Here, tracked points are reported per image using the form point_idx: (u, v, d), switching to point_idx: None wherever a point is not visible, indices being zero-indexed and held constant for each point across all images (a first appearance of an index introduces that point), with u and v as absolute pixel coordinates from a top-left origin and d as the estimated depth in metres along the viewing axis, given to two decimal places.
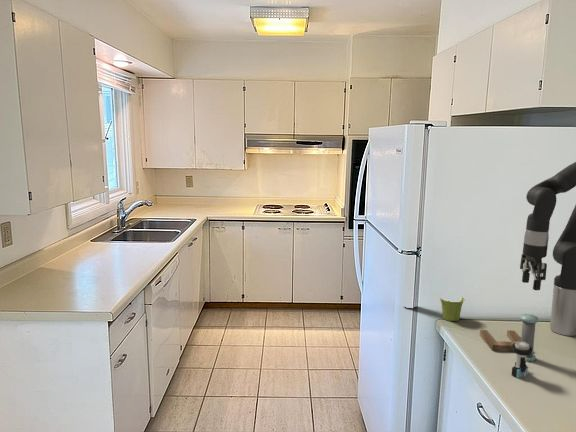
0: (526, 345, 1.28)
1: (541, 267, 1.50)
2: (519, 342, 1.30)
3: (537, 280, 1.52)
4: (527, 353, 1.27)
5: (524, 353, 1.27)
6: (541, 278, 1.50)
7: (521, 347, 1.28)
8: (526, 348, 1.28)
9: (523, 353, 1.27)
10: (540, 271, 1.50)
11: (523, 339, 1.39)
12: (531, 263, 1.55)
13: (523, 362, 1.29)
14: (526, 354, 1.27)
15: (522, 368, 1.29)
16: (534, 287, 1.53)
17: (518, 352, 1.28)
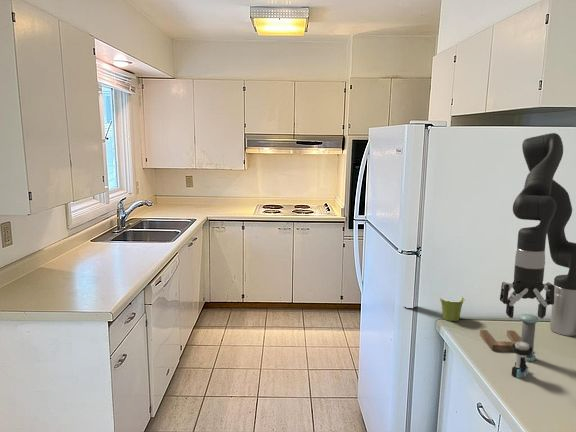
0: (526, 345, 1.28)
1: None
2: (519, 342, 1.30)
3: (546, 305, 1.26)
4: (527, 353, 1.27)
5: (524, 353, 1.27)
6: None
7: (521, 347, 1.28)
8: (526, 348, 1.28)
9: (523, 353, 1.27)
10: None
11: (523, 339, 1.39)
12: (537, 289, 1.25)
13: (523, 362, 1.29)
14: (526, 354, 1.27)
15: (522, 368, 1.29)
16: (543, 315, 1.27)
17: (518, 352, 1.28)
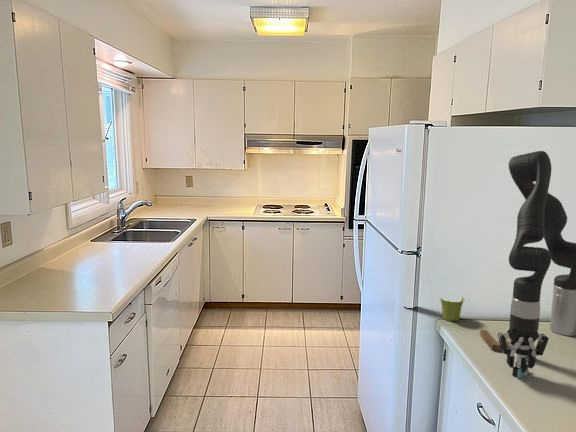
0: (527, 345, 1.28)
1: None
2: None
3: (535, 356, 1.29)
4: (528, 353, 1.27)
5: (525, 353, 1.27)
6: None
7: (522, 347, 1.28)
8: (527, 348, 1.28)
9: (524, 353, 1.27)
10: None
11: None
12: None
13: (524, 362, 1.29)
14: (527, 354, 1.27)
15: (523, 368, 1.29)
16: (532, 365, 1.29)
17: (519, 352, 1.28)
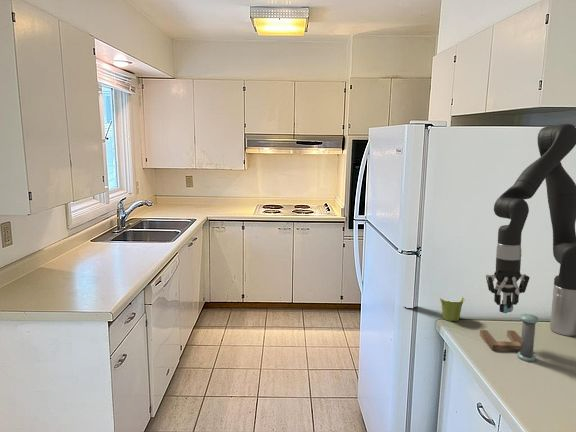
0: (511, 284, 1.48)
1: None
2: None
3: (519, 293, 1.49)
4: (512, 290, 1.47)
5: (509, 291, 1.47)
6: None
7: (507, 286, 1.47)
8: (511, 286, 1.47)
9: (509, 291, 1.47)
10: None
11: (523, 339, 1.39)
12: None
13: (509, 299, 1.48)
14: (511, 291, 1.47)
15: (508, 304, 1.48)
16: (516, 302, 1.49)
17: (504, 290, 1.47)
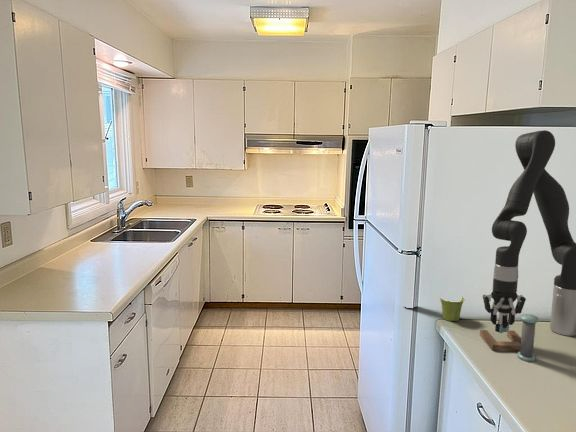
0: None
1: None
2: None
3: (515, 314, 1.51)
4: (508, 311, 1.49)
5: (505, 311, 1.49)
6: None
7: (503, 306, 1.49)
8: (507, 307, 1.49)
9: (505, 311, 1.49)
10: None
11: (523, 339, 1.39)
12: None
13: (505, 319, 1.51)
14: (507, 312, 1.49)
15: (504, 324, 1.50)
16: (512, 322, 1.51)
17: (500, 310, 1.49)
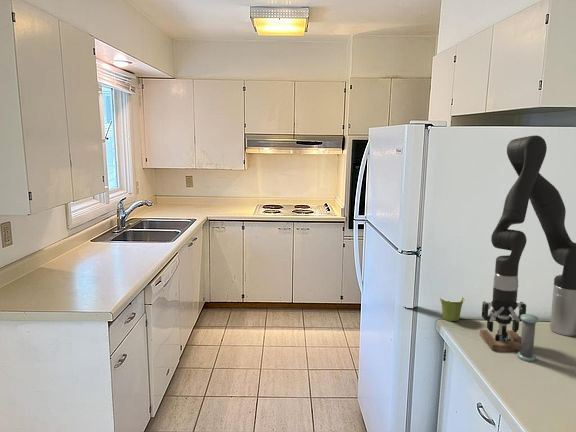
0: (507, 315, 1.50)
1: None
2: None
3: (519, 321, 1.51)
4: (508, 322, 1.49)
5: (505, 322, 1.49)
6: None
7: (503, 317, 1.50)
8: (507, 318, 1.49)
9: (504, 322, 1.49)
10: None
11: (523, 339, 1.39)
12: (511, 308, 1.49)
13: (505, 330, 1.51)
14: (507, 323, 1.49)
15: (504, 335, 1.51)
16: (516, 329, 1.51)
17: (500, 321, 1.50)
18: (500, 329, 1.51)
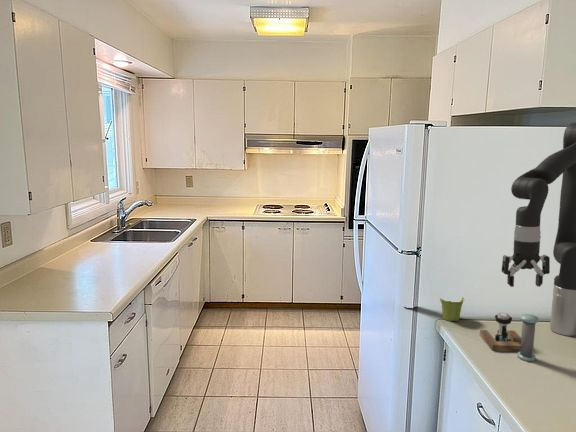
0: (507, 315, 1.50)
1: None
2: (500, 313, 1.52)
3: None
4: (508, 322, 1.49)
5: (505, 322, 1.49)
6: None
7: (503, 317, 1.50)
8: (507, 318, 1.49)
9: (505, 322, 1.49)
10: None
11: (523, 339, 1.39)
12: (534, 261, 1.42)
13: (505, 330, 1.51)
14: (507, 323, 1.49)
15: (504, 335, 1.51)
16: (540, 283, 1.44)
17: (500, 321, 1.50)
18: (500, 329, 1.51)
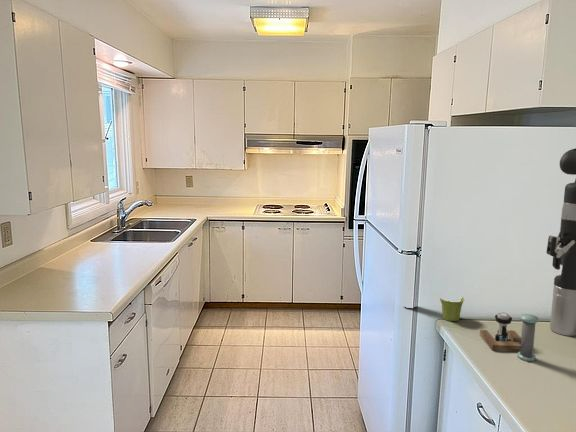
0: (507, 315, 1.50)
1: None
2: (500, 313, 1.52)
3: None
4: (508, 322, 1.49)
5: (505, 322, 1.49)
6: None
7: (503, 317, 1.50)
8: (507, 318, 1.49)
9: (505, 322, 1.49)
10: None
11: (523, 339, 1.39)
12: None
13: (505, 330, 1.51)
14: (507, 323, 1.49)
15: (504, 335, 1.51)
16: None
17: (500, 321, 1.50)
18: (500, 329, 1.51)
